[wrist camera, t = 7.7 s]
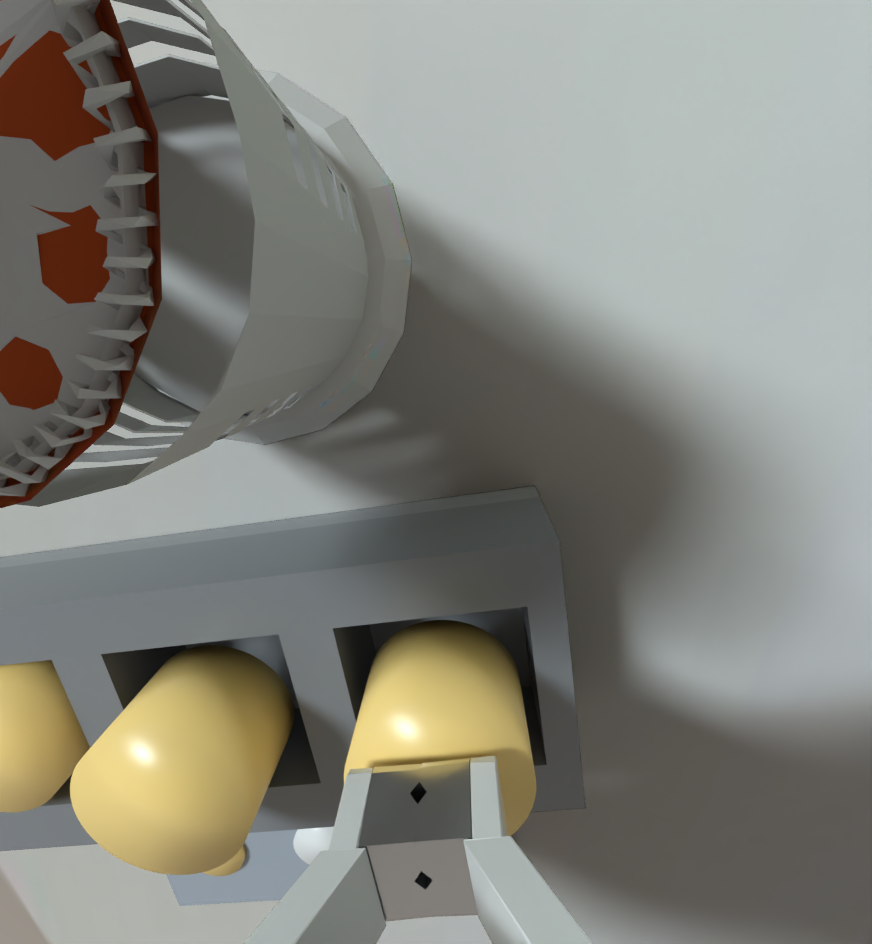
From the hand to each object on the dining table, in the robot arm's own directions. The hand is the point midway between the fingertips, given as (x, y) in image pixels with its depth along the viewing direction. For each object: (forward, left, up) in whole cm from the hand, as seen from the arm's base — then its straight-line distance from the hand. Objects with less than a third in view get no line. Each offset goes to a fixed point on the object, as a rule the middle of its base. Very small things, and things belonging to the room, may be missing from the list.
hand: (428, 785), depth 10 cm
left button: (0, +12, -5) cm, 13 cm away
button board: (-4, +6, -7) cm, 10 cm away
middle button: (0, +6, -3) cm, 7 cm away
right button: (0, 0, -3) cm, 3 cm away
